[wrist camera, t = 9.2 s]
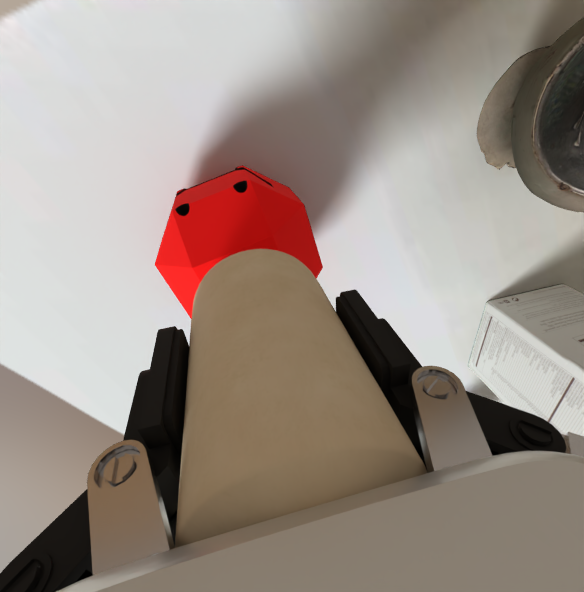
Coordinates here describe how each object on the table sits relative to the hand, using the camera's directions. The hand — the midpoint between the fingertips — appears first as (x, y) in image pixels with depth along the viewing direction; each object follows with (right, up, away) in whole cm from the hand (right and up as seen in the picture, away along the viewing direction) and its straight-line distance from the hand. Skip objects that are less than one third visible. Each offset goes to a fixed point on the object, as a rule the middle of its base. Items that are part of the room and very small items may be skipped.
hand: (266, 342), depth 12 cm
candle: (-1, +1, +2) cm, 3 cm away
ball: (-3, +6, +10) cm, 12 cm away
